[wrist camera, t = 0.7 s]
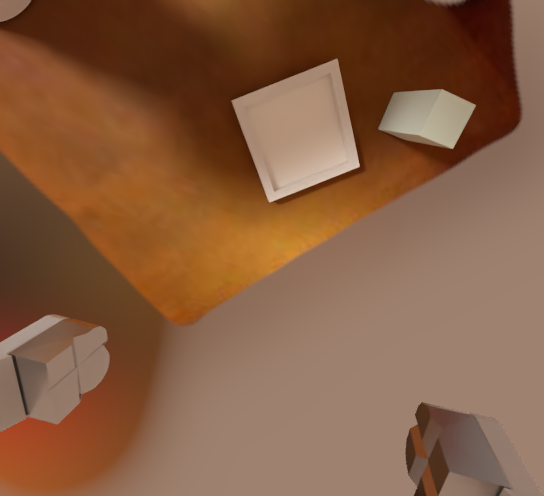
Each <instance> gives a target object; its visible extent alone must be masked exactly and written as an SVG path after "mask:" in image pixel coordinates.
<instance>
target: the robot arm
mask: <svg viewBox="0 0 544 496" xmlns="http://www.w3.org/2000/svg"><path fill="white" fill-rule="evenodd" d="M30 2H31V0H0V22H2V21H6V20H9V19H11V18H13V17H15V16H16V15H18V14H19V13H21V12H22V11H23V10H24V9H25V8H26V7H27V6H28V5H29V3H30ZM106 341H107V333H106V329H104V328H103V327H101V326H98V325H94V324H90V323H87V322H83V321H79V320H75V319H72V318H66V317H62V316H59V315H47V316H45V317H43V318H42V319H40V320H38V321H37V322H35V323H33V324H31V325H30V326H28V327H26V328H25V329H23V330H21V331H19V332H18V333H16V334H14V335H12V336H11V337H9V338H7V339H5V340H4V341H2V342H0V432H1V431H3V430H5V429H7V428H9V427H10V426H13V425H15V424H16V423H18V422H20V421H22V420H24V419H26V416H28V417H32V418H36V419H39V420H44V421H47V422H51V423H54V424H59V423H60V422H61V421H62V420H63V419H64V418H65V417H66V416H67V415H68V414H69V413H70V412H71V411H72V410H73V409H74V408H75V407H76V406H77V405H78V404H79V403H80V400H81V395H82V394H83V393H85V392H87V391H89V390H92V389H94V388H95V387H96V386H97V385H98V384H99V383H100V382H101V381H102V379H103V377H104V375H105V374H106V372H107V370H108V366H109V353H108V352H107V350H106V348H105V347H104V346H103V345H104V344H105V342H106ZM415 417H416V420H417V424H418V425H416V426H414V427H413V428H411V429H410V430H409V433H408V436H407V440H406V452H405V455H406V465H407V470H408V475H409V476H410V478H411V479H412V481H413V482H414V483H415V485H416V486H417V489H416V491H415V494H414V496H543V494H542V492H541V491H540V489H539V487H538V486H537V484H536V482H535V481H534V479H533V477H532V476H531V474H530V472H529V471H528V469H527V467H526V465H525V464H524V462H523V460H522V458H521V457H520V455H519V453H518V452H517V450H516V448H515V447H514V445H513V443H512V441H511V440H510V438H509V436H508V435H507V433H506V431H505V430H504V428H503V426H502V425H501V423H500V422H499V421H498V420H496V419H495V418H491V417H486V416H482V415H478V414H473V413H467V412H462V411H458V410H454V409H449V408H445V407H441V406H436V405H431V404H427V403H423V402H422V403H421V404H420V405H419V406H418V408H417V411H416V413H415Z"/></svg>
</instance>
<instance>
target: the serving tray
mask: <svg viewBox="0 0 544 496" xmlns="http://www.w3.org/2000/svg"><path fill="white" fill-rule="evenodd" d="M231 103H232V105H233V108H234V111H235V113H236V116H237V119H238V121H239V124H240V127H241V129H242V132H243V135H244V137H245V140H246V143H247V145H248V148H249V151H250V154H251V156H252V159H253V162H254V164H255V167H256V170H257V172H258V175H259V178H260V180H261V183H262V186H263V188H264V191H265V194H266V196H267V199H268V201H269V203H270V202H272V201H275V200H277V199H280V198H282V197H285V196H287V195H290V194H293V193H295V192H298V191H300V190H303V189H305V188H308V187H310V186H313V185H315V184H318V183H320V182H323V181H325V180H328V179H330V178H333V177H335V176H338V175H340V174H343V173H345V172H348V171H350V170H353V169H355V168H358V167H360V165H359V160H358V155H357V150H356V145H355V141H354V136H353V131H352V126H351V121H350V116H349V112H348V107H347V102H346V97H345V92H344V87H343V83H342V78H341V73H340V68H339V63H338V58H337V59H335V60H332V61H330V62H327V63H324V64H322V65H319V66H317V67H314V68H312V69H309V70H307V71H304V72H302V73H299V74H297V75H294V76H292V77H289V78H287V79H284V80H282V81H279V82H277V83H274V84H272V85H269V86H267V87H264V88H262V89H259V90H257V91H254V92H252V93H249V94H247V95H244V96H241V97H239V98H236V99H234V100H231Z"/></svg>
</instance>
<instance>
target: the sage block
mask: <svg viewBox="0 0 544 496" xmlns="http://www.w3.org/2000/svg"><path fill="white" fill-rule="evenodd" d="M475 106H476V105H475V104H472V103H470V102H468V101H466V100H464V99H462V98H460V97H458V96H455V95H453V94H451V93H449V92H447V91H445V90H443V89H437V90H422V91H407V92H394V93H393V95H392V98H391V100H390V102H389V105H388V107H387V109H386V112H385V114H384V116H383V119H382V121H381V123H380V125H379V128H378V129H379V130H381V131H384V132H386V133H389V134H391V135H394V136H396V137H399V138H402V139H404V140H407V141H413V142H418V143H423V144H429V145H434V146H439V147H445V148H450V149H453V148H454V146H455V144H456V142H457V140H458V138H459V137H460V135H461V133H462V131H463V129H464V127H465V125H466V123H467V121H468V120H469V118H470V116H471V114H472V112H473V110H474V108H475Z"/></svg>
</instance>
